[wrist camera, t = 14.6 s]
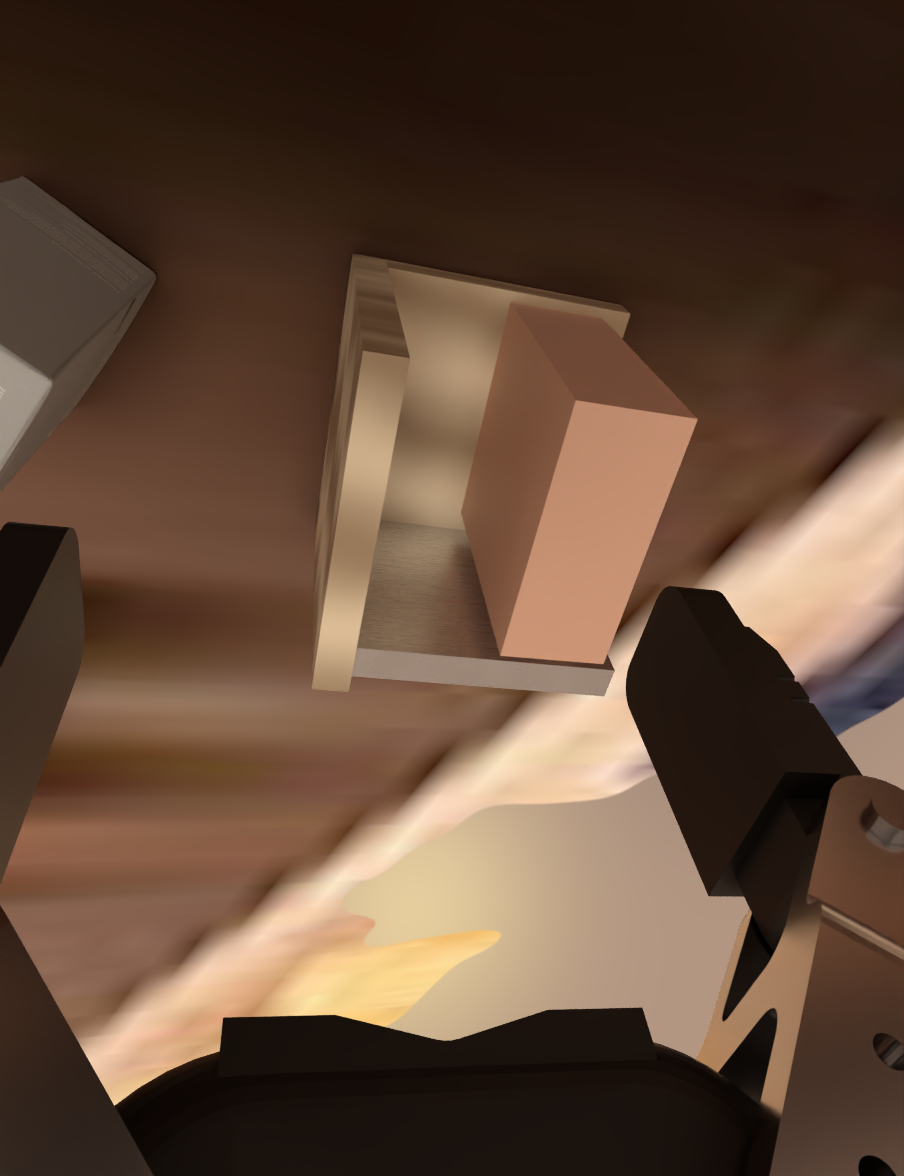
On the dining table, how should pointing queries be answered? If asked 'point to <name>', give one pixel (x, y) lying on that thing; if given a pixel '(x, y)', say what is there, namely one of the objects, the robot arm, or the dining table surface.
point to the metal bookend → (446, 621)
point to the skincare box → (55, 314)
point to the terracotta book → (568, 482)
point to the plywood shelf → (405, 423)
